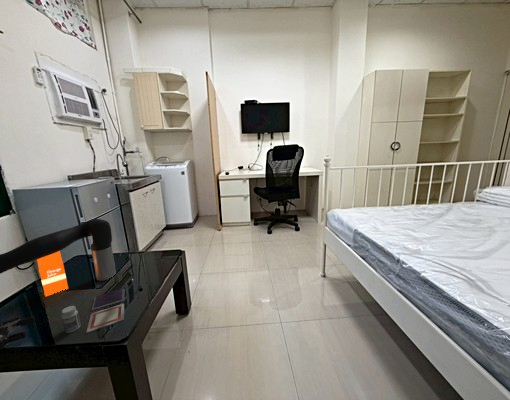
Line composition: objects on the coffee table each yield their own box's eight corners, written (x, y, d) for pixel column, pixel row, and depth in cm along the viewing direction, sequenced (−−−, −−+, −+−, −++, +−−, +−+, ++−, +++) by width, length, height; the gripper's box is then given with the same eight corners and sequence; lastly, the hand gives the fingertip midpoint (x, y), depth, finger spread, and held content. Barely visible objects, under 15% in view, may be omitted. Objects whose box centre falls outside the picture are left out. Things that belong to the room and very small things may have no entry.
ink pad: (92, 310, 93) (91, 307, 93) (95, 298, 102) (94, 295, 102) (124, 300, 99) (123, 297, 99) (124, 290, 108) (124, 287, 107)
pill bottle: (71, 324, 85) (66, 305, 84) (83, 323, 86) (79, 304, 84) (61, 333, 81) (56, 313, 79) (74, 332, 81) (70, 312, 80)
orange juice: (44, 291, 110) (35, 254, 107) (66, 283, 117) (59, 248, 113) (45, 296, 105) (36, 258, 102) (68, 288, 111) (61, 252, 108)
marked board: (86, 333, 80) (86, 331, 80) (91, 314, 91) (90, 313, 91) (123, 320, 86) (123, 319, 86) (124, 304, 97) (124, 303, 96)
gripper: (-60, 353, 62) (19, 329, 70) (-30, 323, 74) (35, 305, 82) (-53, 375, 63) (24, 349, 71) (-24, 342, 75) (39, 323, 83)
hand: (30, 326), depth 77 cm, fingers open, 8 cm apart
